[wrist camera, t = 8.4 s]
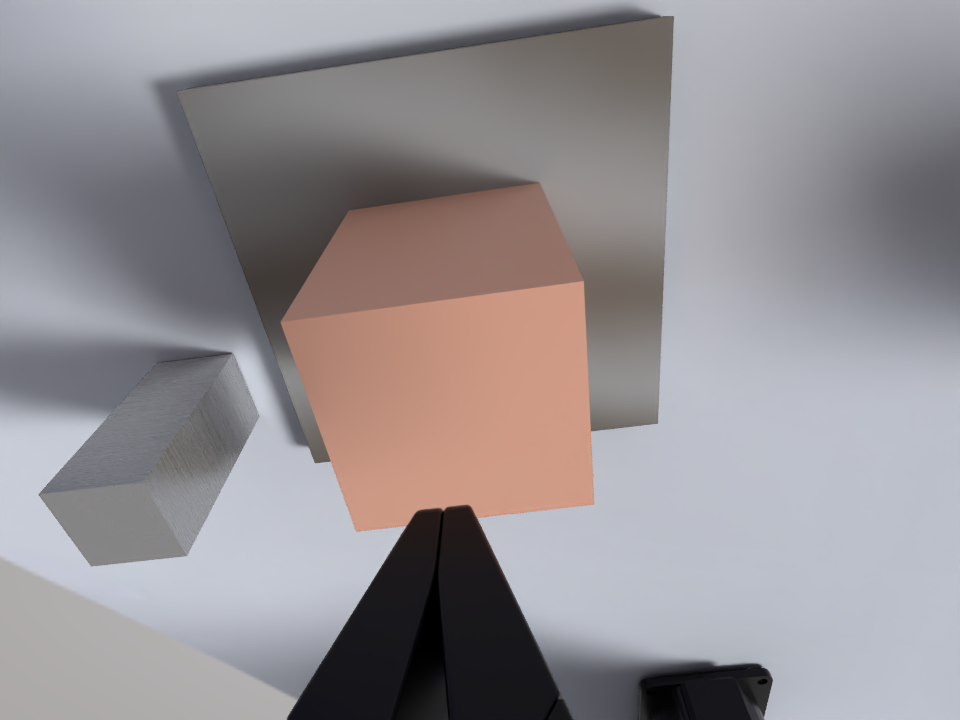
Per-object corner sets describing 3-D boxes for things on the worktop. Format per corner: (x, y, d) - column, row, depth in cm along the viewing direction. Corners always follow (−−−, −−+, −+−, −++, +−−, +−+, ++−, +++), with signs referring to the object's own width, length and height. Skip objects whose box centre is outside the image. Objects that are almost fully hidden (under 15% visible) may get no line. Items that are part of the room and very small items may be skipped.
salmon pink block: (553, 349, 18) (594, 504, 12) (390, 370, 18) (356, 531, 12) (540, 182, 15) (583, 280, 9) (349, 210, 15) (280, 322, 10)
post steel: (259, 416, 20) (186, 555, 15) (187, 425, 20) (91, 566, 15) (232, 353, 18) (143, 482, 13) (156, 363, 19) (38, 494, 14)
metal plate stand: (651, 409, 20) (719, 553, 15) (320, 448, 21) (268, 600, 15) (663, 16, 14) (789, 15, 8) (190, 88, 14) (25, 129, 9)
